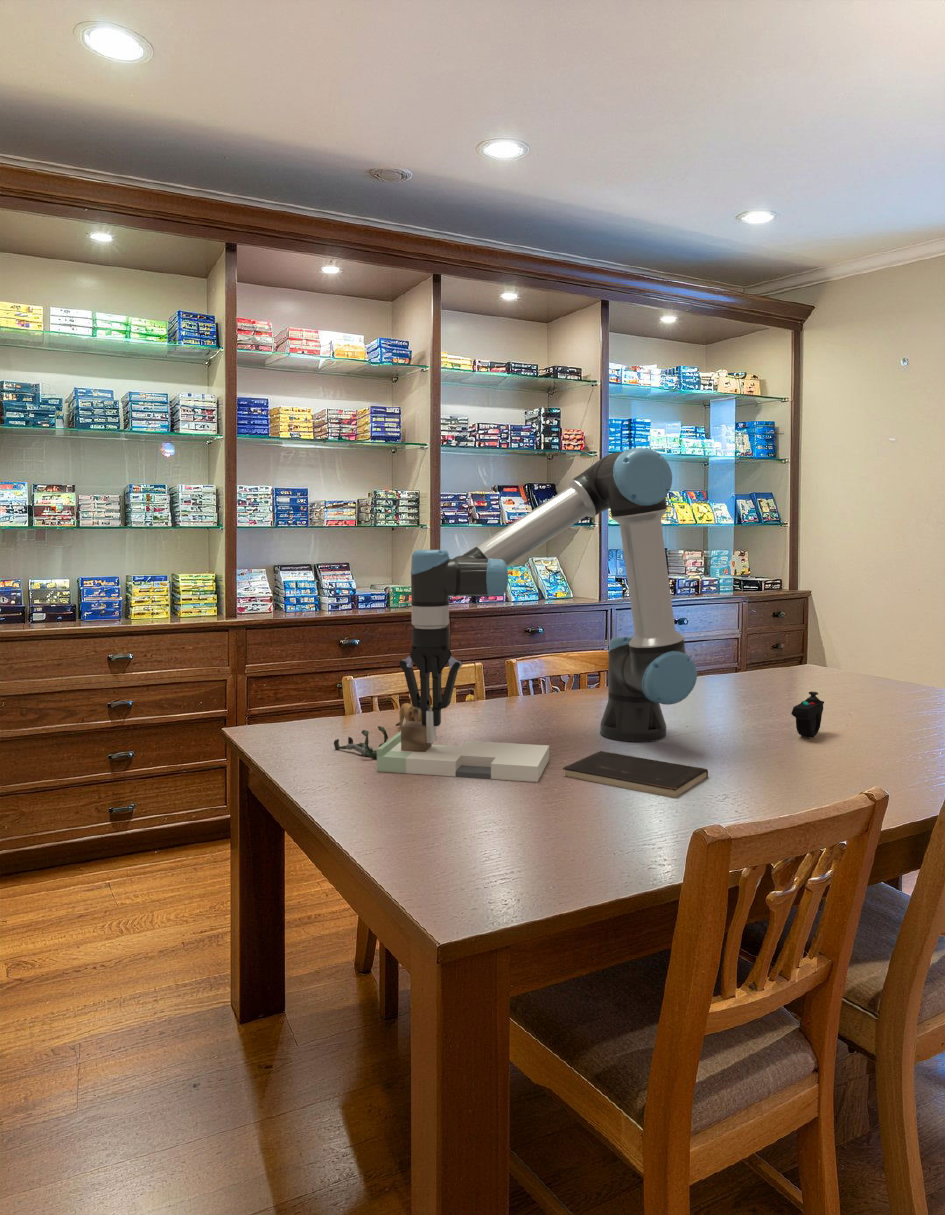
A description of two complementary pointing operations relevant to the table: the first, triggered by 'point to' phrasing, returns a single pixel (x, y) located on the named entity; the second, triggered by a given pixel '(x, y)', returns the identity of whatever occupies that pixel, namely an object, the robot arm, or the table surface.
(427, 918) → the table surface
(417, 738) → the walnut block
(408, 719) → the lion figurine
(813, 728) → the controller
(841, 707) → the table surface
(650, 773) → the hardcover book
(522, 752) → the trap board
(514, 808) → the table surface
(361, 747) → the zombie figurine
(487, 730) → the table surface
